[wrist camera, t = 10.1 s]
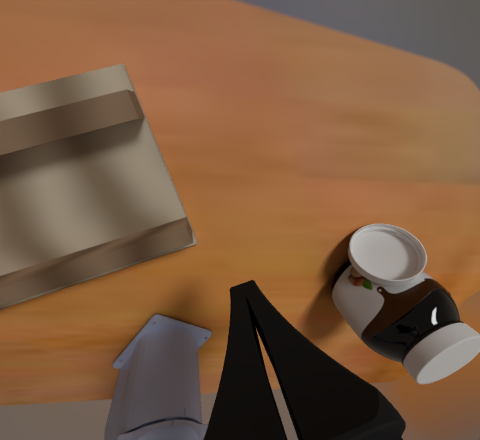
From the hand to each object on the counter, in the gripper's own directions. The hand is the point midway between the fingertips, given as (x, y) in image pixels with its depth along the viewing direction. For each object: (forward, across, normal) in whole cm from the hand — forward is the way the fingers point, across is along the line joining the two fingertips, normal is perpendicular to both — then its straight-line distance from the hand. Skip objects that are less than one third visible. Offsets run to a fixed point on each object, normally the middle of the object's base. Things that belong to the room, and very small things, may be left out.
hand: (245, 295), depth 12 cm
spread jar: (+10, -15, +12) cm, 22 cm away
